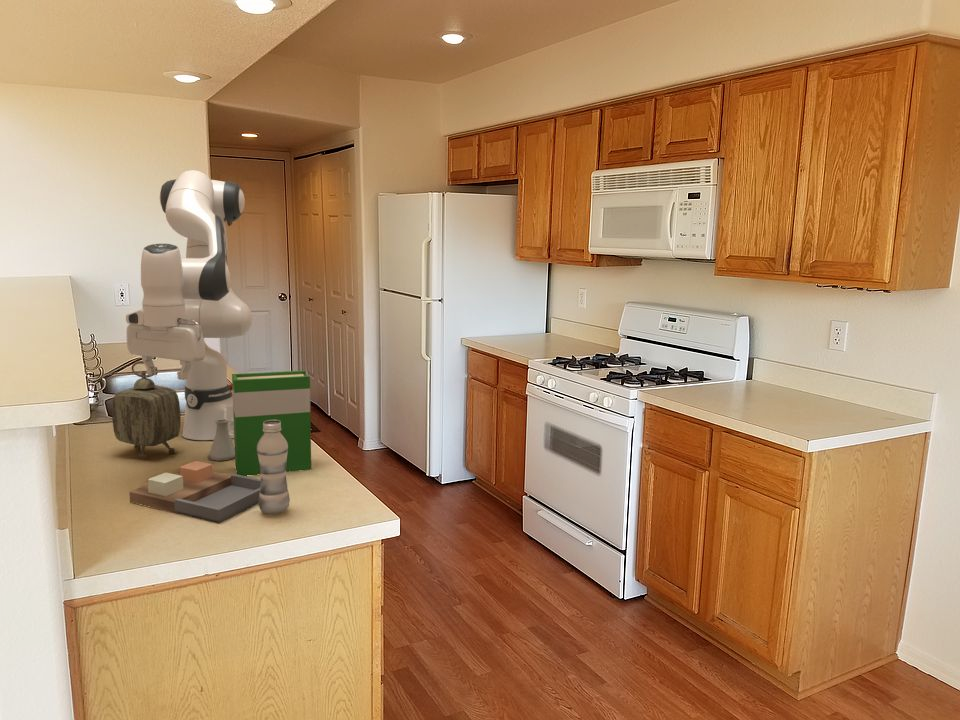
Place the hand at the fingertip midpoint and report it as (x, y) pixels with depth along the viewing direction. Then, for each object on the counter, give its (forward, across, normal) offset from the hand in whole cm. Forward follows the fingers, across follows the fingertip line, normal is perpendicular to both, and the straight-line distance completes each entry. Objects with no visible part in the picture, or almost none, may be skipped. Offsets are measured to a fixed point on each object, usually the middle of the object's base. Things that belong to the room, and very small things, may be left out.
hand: (167, 377), depth 167 cm
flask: (+26, +3, -20) cm, 33 cm away
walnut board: (+26, -7, +4) cm, 27 cm away
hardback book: (+26, -14, -19) cm, 35 cm away
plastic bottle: (+26, -32, +3) cm, 41 cm away
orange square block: (+23, -7, 0) cm, 24 cm away
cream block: (+23, -7, +9) cm, 26 cm away
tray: (+26, -20, +4) cm, 33 cm away
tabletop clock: (+26, +21, -12) cm, 35 cm away
